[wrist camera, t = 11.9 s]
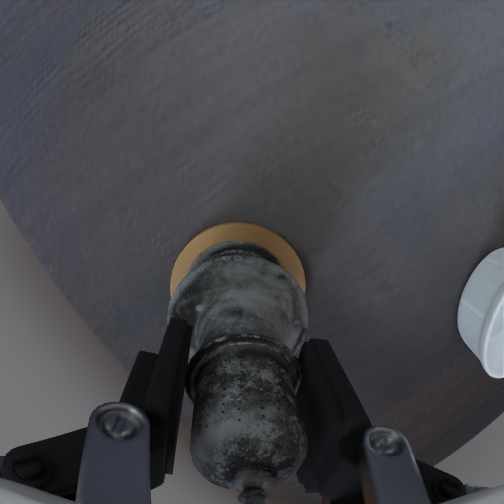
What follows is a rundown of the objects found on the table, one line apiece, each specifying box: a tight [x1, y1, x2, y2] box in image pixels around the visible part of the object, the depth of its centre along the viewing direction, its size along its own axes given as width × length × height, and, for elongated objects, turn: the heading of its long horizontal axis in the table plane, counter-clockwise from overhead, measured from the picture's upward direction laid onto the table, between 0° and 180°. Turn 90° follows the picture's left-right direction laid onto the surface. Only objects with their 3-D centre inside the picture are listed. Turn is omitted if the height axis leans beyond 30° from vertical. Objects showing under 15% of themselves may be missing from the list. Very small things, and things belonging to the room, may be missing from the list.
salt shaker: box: [167, 241, 309, 504], centre depth 11 cm, size 6×6×12 cm
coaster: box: [170, 222, 306, 298], centre depth 17 cm, size 7×7×1 cm
